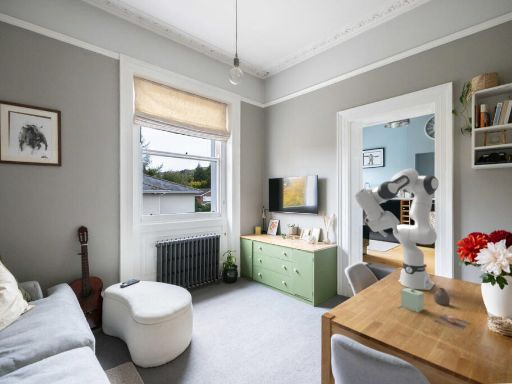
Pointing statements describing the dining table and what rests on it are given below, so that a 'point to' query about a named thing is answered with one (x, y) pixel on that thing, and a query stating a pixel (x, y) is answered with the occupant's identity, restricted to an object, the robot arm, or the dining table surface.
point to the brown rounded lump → (441, 297)
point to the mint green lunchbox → (412, 299)
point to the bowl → (452, 319)
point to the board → (444, 320)
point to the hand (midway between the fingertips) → (391, 235)
